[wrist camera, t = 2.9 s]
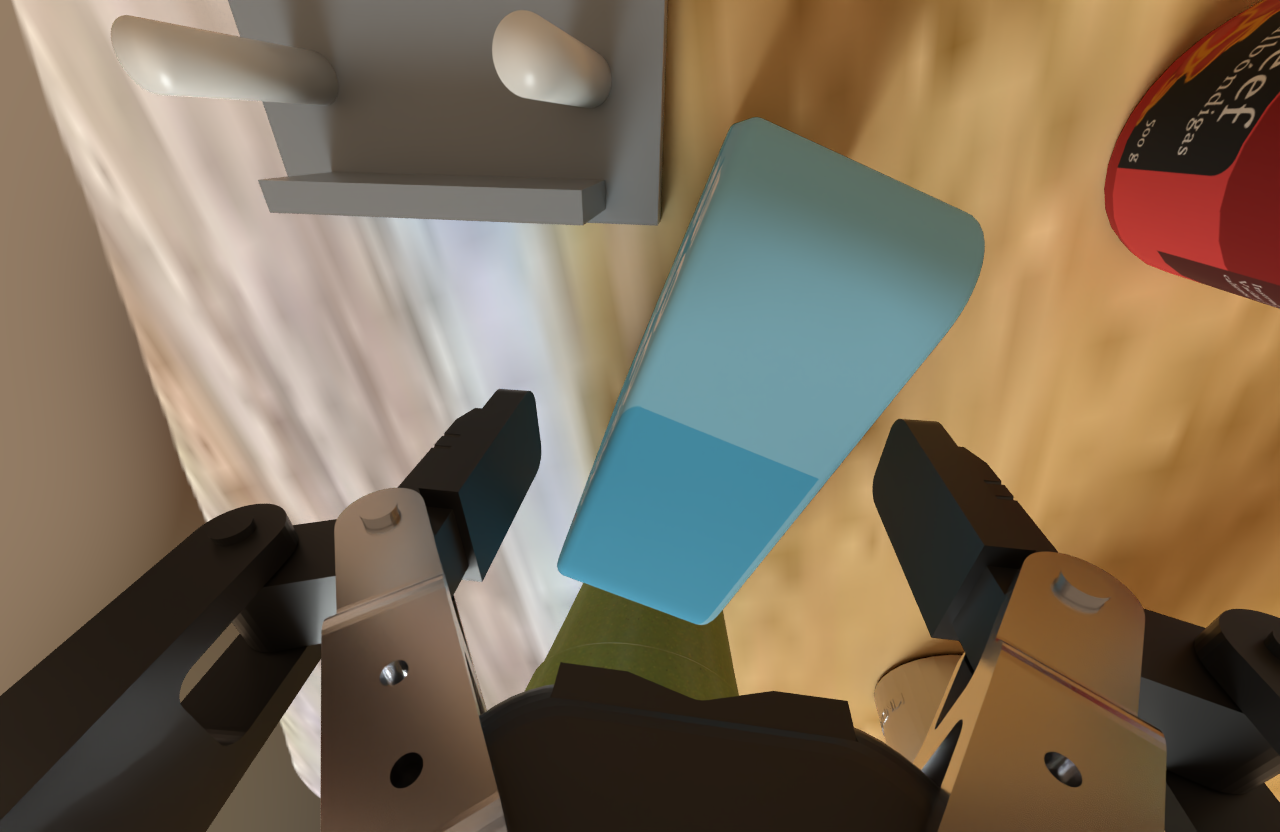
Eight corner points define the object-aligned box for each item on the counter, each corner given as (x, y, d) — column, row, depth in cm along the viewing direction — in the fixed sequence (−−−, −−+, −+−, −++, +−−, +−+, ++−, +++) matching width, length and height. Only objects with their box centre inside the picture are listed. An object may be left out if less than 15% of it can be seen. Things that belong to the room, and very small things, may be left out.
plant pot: (533, 570, 31) (451, 764, 22) (625, 456, 25) (569, 657, 16) (679, 646, 33) (664, 855, 24) (797, 559, 27) (839, 791, 18)
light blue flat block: (731, 120, 17) (753, 107, 6) (845, 173, 17) (1034, 236, 7) (620, 390, 23) (544, 596, 13) (704, 424, 23) (694, 651, 13)
